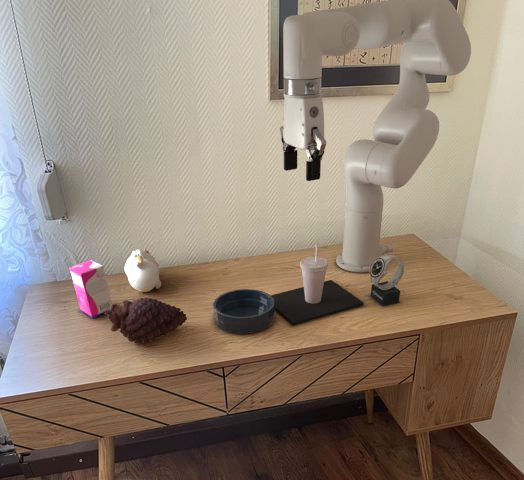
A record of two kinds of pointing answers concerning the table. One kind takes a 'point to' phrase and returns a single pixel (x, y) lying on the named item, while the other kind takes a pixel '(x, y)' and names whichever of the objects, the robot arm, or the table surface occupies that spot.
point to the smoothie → (313, 277)
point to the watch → (386, 290)
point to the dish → (244, 311)
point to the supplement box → (91, 288)
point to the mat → (301, 311)
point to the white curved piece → (142, 271)
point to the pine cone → (145, 319)
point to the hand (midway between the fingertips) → (301, 174)
